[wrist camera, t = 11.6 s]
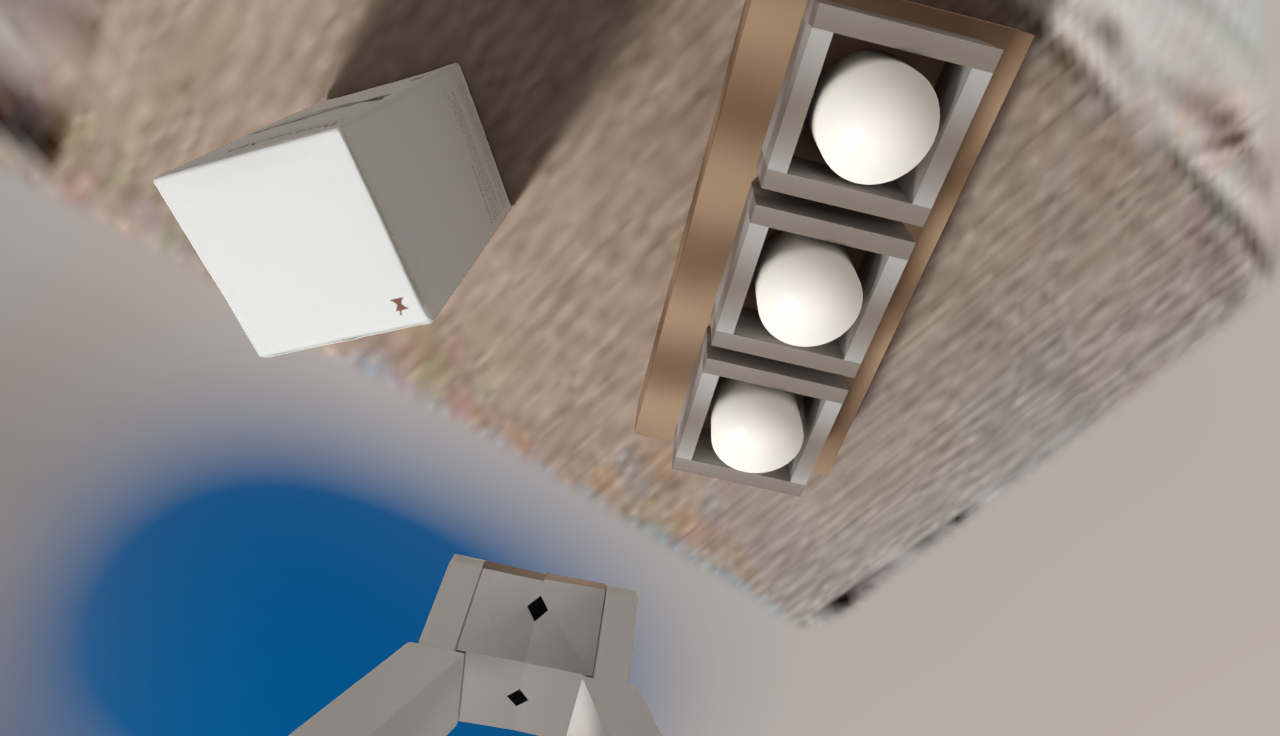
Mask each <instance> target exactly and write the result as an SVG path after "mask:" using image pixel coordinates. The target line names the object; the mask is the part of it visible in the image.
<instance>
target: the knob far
mask: <svg viewBox="0 0 1280 736" xmlns="http://www.w3.org/2000/svg"><path fill="white" fill-rule="evenodd" d="M803 438H804V433H803V427H802V422H801V417H800V412H799V407H798V402H797V397H796V393H792V392H787V391H783V390H779V389H774V388H770V387H765V386H761V385H756V384H752V383H748V382H743V381H739V380H734V379H730V378H726V377H721V378H720V379H719V380H718V382H717V385H716V388H715V391H714V394H713V397H712V400H711V441H712V446H713V449H714V451H715V453H716V454H717V456H718V457H719V458H720V459H721V460H722V461H723V462H724V463H725V464H727V465H728V466H730V467H732V468H734V469H736V470H739V471H743V472H748V473H764V472H770V471H773V470H776V469H779V468H781V467H783V466H784V465H786V464H788V463H789V462H790V461H791V460H792V459H793V458H794V457H795V456H796V455H797V454H798V452H799V451H800V449H801V446H802V443H803Z"/></svg>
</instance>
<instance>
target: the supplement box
mask: <svg viewBox="0 0 1280 736" xmlns="http://www.w3.org/2000/svg"><path fill="white" fill-rule="evenodd" d="M153 182H154V183H155V185H156V187H157V188H158V190H159V192H160V193H161V195H162V197H163V198H164V200H165V202H166V203H167V205H168V206H169V208H170V210H171V211H172V213H173V215H174V216H175V218H176V220H177V221H178V223H179V224H180V226H181V228H182V229H183V231H184V233H185V234H186V236H187V237H188V239H189V241H190V242H191V244H192V245H193V247H194V249H195V250H196V252H197V254H198V255H199V257H200V259H201V260H202V262H203V263H204V265H205V267H206V268H207V270H208V272H209V273H210V275H211V276H212V278H213V280H214V281H215V283H216V284H217V286H218V287H219V289H220V290H221V292H222V294H223V295H224V297H225V298H226V300H227V302H228V304H229V305H230V307H231V309H232V310H233V312H234V314H235V316H236V317H237V319H238V321H239V323H240V324H241V326H242V328H243V329H244V331H245V333H246V334H247V336H248V338H249V339H250V341H251V343H252V344H253V346H254V348H255V350H256V352H257V353H258V355H259V356H260V357H272V356H277V355H282V354H286V353H291V352H295V351H300V350H304V349H309V348H314V347H319V346H323V345H328V344H333V343H338V342H344V341H349V340H355V339H358V338H361V337H365V336H370V335H375V334H379V333H384V332H389V331H394V330H398V329H403V328H408V327H413V326H417V325H424V324H429V323H432V322H433V321H434V320H435V318H436V317H437V315H438V314H439V312H440V311H441V310H442V308H443V307H444V305H445V304H446V302H447V301H448V299H449V298H450V296H451V295H452V294H453V292H454V291H455V289H456V288H457V286H458V285H459V284H460V282H461V281H462V279H463V278H464V276H465V275H466V273H467V272H468V270H469V269H470V268H471V266H472V265H473V263H474V262H475V260H476V259H477V257H478V256H479V255H480V253H481V252H482V250H483V249H484V247H485V246H486V244H487V243H488V241H489V240H490V239H491V237H492V236H493V234H494V233H495V231H496V230H497V228H498V227H499V226H500V224H501V223H502V221H503V220H504V218H505V217H506V215H507V214H508V213H509V211H510V210H511V205H510V202H509V199H508V196H507V193H506V191H505V188H504V185H503V182H502V179H501V176H500V174H499V171H498V168H497V166H496V163H495V160H494V157H493V154H492V151H491V149H490V146H489V143H488V141H487V138H486V135H485V132H484V129H483V127H482V124H481V121H480V118H479V116H478V113H477V110H476V107H475V104H474V102H473V99H472V97H471V94H470V91H469V88H468V85H467V83H466V80H465V77H464V75H463V72H462V69H461V67H460V65H459V64H458V63H453V64H450V65H447V66H444V67H442V68H439V69H435V70H432V71H429V72H426V73H423V74H420V75H416V76H413V77H409V78H406V79H403V80H399V81H396V82H392V83H388V84H385V85H381V86H378V87H374V88H370V89H367V90H363V91H360V92H357V93H353V94H350V95H346V96H342V97H338V98H334V99H329V100H325V101H322V102H319V103H317V104H316V105H313V106H311V107H309V108H306V109H304V110H302V111H300V112H297V113H295V114H293V115H290V116H288V117H286V118H284V119H281V120H279V121H277V122H275V123H272V124H270V125H268V126H266V127H264V128H261V129H259V130H257V131H255V132H252V133H250V134H248V135H246V136H244V137H241V138H239V139H237V140H235V141H233V142H231V143H229V144H227V145H225V146H223V147H221V148H219V149H216V150H214V151H212V152H210V153H208V154H206V155H204V156H202V157H199V158H197V159H195V160H193V161H191V162H189V163H186V164H184V165H182V166H180V167H178V168H175V169H173V170H171V171H169V172H167V173H165V174H162V175H160V176H158V177H156V178H154V181H153Z"/></svg>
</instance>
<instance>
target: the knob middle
mask: <svg viewBox="0 0 1280 736" xmlns="http://www.w3.org/2000/svg"><path fill="white" fill-rule="evenodd" d="M753 279H754V285H755V292H756V299H757V306H758V312H759V316H760V319H761V321H762V323H763V325H764V326H765V328H766V329H767V330H768V332H769V333H770V334H771V335H773V336H774V337H775V338H777V339H778V340H780V341H782V342H784V343H787V344H790V345H794V346H800V347H811V346H818V345H822V344H825V343H828V342H830V341H833V340H834V339H836V338H838V337H840V336H841V335H842V334H844V333H845V332H846V331H847V330H848V329H849V328H850V327H851V326H852V325H853V323H854V322H855V320H856V319H857V317H858V315H859V313H860V310H861V307H862V302H863V292H862V286H861V283H860V281H859V278H858V276H857V274H856V271H855V269H854V267H853V265H852V262H851V260H850V258H849V256H848V253H847V251H846V249H845V247H844V246H843V245H841V244H836V243H832V242H828V241H824V240H820V239H816V238H811V237H807V236H803V235H799V234H795V233H790V232H786V231H782V232H780V233H778V234H777V235H775V236H773V237H772V238H771V239H770V240H768V242H767V243H766V244H765V245H764V246H763V247H762V249H761V252H760V255H759V258H758V261H757V264H756V267H755V270H754V273H753Z"/></svg>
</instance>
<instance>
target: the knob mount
mask: <svg viewBox="0 0 1280 736" xmlns="http://www.w3.org/2000/svg"><path fill="white" fill-rule="evenodd" d="M1034 36H1035V35H1033V34H1030V33H1027V32H1024V31H1021V30H1018V29H1015V28H1012V27H1009V26H1005V25H1001V24H998V23H994V22H990V21H986V20H982V19H978V18H974V17H971V16H967V15H963V14H959V13H955V12H951V11H947V10H943V9H940V8H936V7H932V6H928V5H924V4H920V3H916V2H912V1H909V0H746V1H745V5H744V8H743V12H742V16H741V20H740V23H739V27H738V31H737V35H736V38H735V42H734V46H733V50H732V53H731V57H730V61H729V65H728V68H727V72H726V76H725V80H724V83H723V87H722V91H721V95H720V98H719V102H718V106H717V110H716V113H715V117H714V121H713V125H712V128H711V132H710V136H709V140H708V143H707V147H706V151H705V155H704V158H703V162H702V166H701V170H700V173H699V177H698V181H697V185H696V188H695V192H694V196H693V200H692V203H691V207H690V211H689V215H688V218H687V222H686V226H685V230H684V233H683V237H682V241H681V245H680V248H679V252H678V256H677V260H676V263H675V267H674V271H673V275H672V278H671V282H670V286H669V290H668V293H667V297H666V301H665V305H664V308H663V312H662V316H661V320H660V323H659V327H658V331H657V335H656V338H655V342H654V346H653V350H652V353H651V357H650V361H649V365H648V368H647V372H646V376H645V380H644V383H643V387H642V391H641V395H640V398H639V402H638V409H637V417H636V424H635V432H634V434H639V435H643V436H648V437H652V438H657V439H661V440H666V441H670V442H674V444H673V462H672V469H676V470H681V471H685V472H690V473H694V474H699V475H703V476H708V477H713V478H717V479H722V480H726V481H731V482H735V483H740V484H745V485H749V486H754V487H758V488H763V489H767V490H772V491H777V492H781V493H786V494H790V495H795V496H799V497H800V496H801V494H802V492H803V490H804V488H805V485H806V483H807V481H808V479H809V477H810V474H811V473H815V474H820V475H824V476H827V475H828V472H829V470H830V468H831V466H832V464H833V462H834V460H835V458H836V456H837V453H838V451H839V449H840V447H841V445H842V443H843V441H844V439H845V436H846V434H847V432H848V430H849V428H850V426H851V424H852V422H853V420H854V417H855V415H856V413H857V411H858V409H859V407H860V405H861V403H862V400H863V398H864V396H865V394H866V392H867V390H868V388H869V386H870V384H871V381H872V379H873V377H874V375H875V373H876V371H877V369H878V367H879V364H880V362H881V360H882V358H883V356H884V354H885V352H886V350H887V348H888V345H889V343H890V341H891V339H892V337H893V335H894V333H895V331H896V328H897V326H898V324H899V322H900V320H901V318H902V316H903V314H904V312H905V309H906V307H907V305H908V303H909V301H910V299H911V297H912V295H913V293H914V290H915V288H916V286H917V284H918V282H919V280H920V278H921V276H922V273H923V271H924V269H925V267H926V265H927V263H928V261H929V259H930V257H931V254H932V252H933V250H934V248H935V246H936V244H937V242H938V240H939V237H940V235H941V233H942V231H943V229H944V227H945V225H946V223H947V221H948V218H949V216H950V214H951V212H952V210H953V208H954V206H955V204H956V201H957V199H958V197H959V195H960V193H961V191H962V189H963V187H964V185H965V182H966V180H967V178H968V176H969V174H970V172H971V170H972V168H973V165H974V163H975V161H976V159H977V157H978V155H979V153H980V151H981V149H982V146H983V144H984V142H985V140H986V138H987V136H988V134H989V132H990V129H991V127H992V125H993V123H994V121H995V119H996V117H997V115H998V113H999V110H1000V108H1001V106H1002V104H1003V102H1004V100H1005V98H1006V96H1007V93H1008V91H1009V89H1010V87H1011V85H1012V83H1013V81H1014V79H1015V77H1016V74H1017V72H1018V70H1019V68H1020V66H1021V64H1022V62H1023V60H1024V57H1025V55H1026V53H1027V51H1028V49H1029V47H1030V45H1031V43H1032V41H1033V38H1034ZM860 50H880V51H884V52H887V53H890V54H892V55H894V56H896V57H897V58H899V59H900V60H902V61H903V62H905V63H906V64H908V65H909V66H911V67H912V68H914V69H915V70H916V71H918V72H919V73H921V74H922V75H923V76H924V77H925V78H926V79H927V80H928V81H929V82H930V84H931V85H932V87H933V89H934V91H935V93H936V95H937V98H938V101H939V107H940V121H939V128H938V132H937V135H936V138H935V140H934V142H933V144H932V146H931V148H930V150H929V151H928V153H927V154H926V156H925V157H924V158H923V159H922V160H921V162H919V163H918V164H917V165H916V166H915V167H914V168H913V169H912V170H910V171H909V172H908V173H906V174H904V175H903V176H901V177H899V178H897V179H895V180H892V181H889V182H886V183H881V184H873V185H867V184H858V183H854V182H851V181H848V180H846V179H844V178H842V177H841V176H839V175H838V174H836V173H835V172H834V171H833V170H832V169H831V168H830V167H829V165H828V164H827V163H826V161H825V159H824V158H823V156H822V154H821V152H820V150H819V148H818V146H817V144H816V142H815V141H814V139H813V137H812V134H811V132H810V129H809V125H808V120H807V111H808V108H809V105H810V102H811V99H812V96H813V93H814V90H815V87H816V84H817V81H818V78H819V77H820V75H821V74H822V73H823V72H824V71H825V70H826V68H828V67H829V66H830V65H831V64H832V63H833V62H835V61H836V60H838V59H839V58H841V57H843V56H845V55H847V54H850V53H852V52H856V51H860ZM782 231H786V232H790V233H795V234H799V235H803V236H807V237H811V238H816V239H820V240H824V241H828V242H832V243H836V244H841V245H843V246H844V247H845V249H846V251H847V253H848V256H849V258H850V260H851V262H852V265H853V267H854V269H855V271H856V274H857V276H858V278H859V281H860V283H861V286H862V292H863V302H862V307H861V310H860V313H859V315H858V317H857V319H856V320H855V322H854V323H853V325H852V326H851V327H850V328H849V329H848V330H847V331H846V332H845V333H844V334H842V335H841V336H840V337H838V338H836V339H834V340H833V341H830V342H828V343H825V344H822V345H818V346H811V347H800V346H794V345H790V344H787V343H784V342H782V341H780V340H778V339H777V338H775V337H774V336H773V335H771V334H770V333H769V332H768V330H767V329H766V328H765V326H764V325H763V323H762V321H761V319H760V316H759V312H758V306H757V299H756V292H755V285H754V279H753V273H754V270H755V267H756V264H757V261H758V258H759V255H760V252H761V249H762V247H763V246H764V245H765V244H766V243H767V242H768V240H770V239H771V238H772V237H773V236H775V235H777V234H778V233H780V232H782ZM721 377H726V378H730V379H734V380H739V381H743V382H748V383H752V384H756V385H761V386H765V387H770V388H774V389H779V390H783V391H787V392H792V393H796V397H797V402H798V407H799V412H800V417H801V422H802V427H803V433H804V438H803V443H802V446H801V449H800V451H799V452H798V454H797V455H796V456H795V457H794V458H793V459H792V460H791V461H790V462H789V463H788V464H786V465H784V466H783V467H781V468H779V469H776V470H773V471H770V472H764V473H748V472H743V471H739V470H736V469H734V468H732V467H730V466H728V465H727V464H725V463H724V462H723V461H722V460H721V459H720V458H719V457H718V456H717V454H716V453H715V451H714V449H713V446H712V441H711V400H712V397H713V394H714V391H715V388H716V385H717V382H718V380H719V379H720V378H721Z"/></svg>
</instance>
